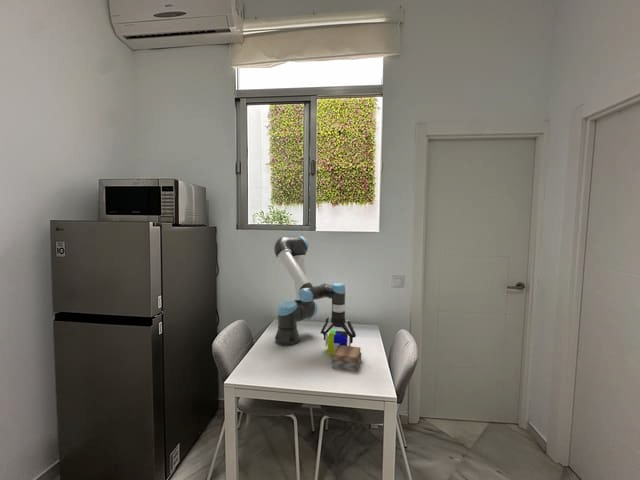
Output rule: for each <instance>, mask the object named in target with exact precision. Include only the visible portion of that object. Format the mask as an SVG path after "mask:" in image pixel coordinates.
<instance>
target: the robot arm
mask: <svg viewBox="0 0 640 480" xmlns="http://www.w3.org/2000/svg"><path fill="white" fill-rule="evenodd" d="M273 251H274V255H275V256H276V258H277V260H279V261H280V262H281V263H282V265H283V267H284V268H285V269H286V271H287V273H288V274H289V276H290V277H291V279H292V280H293V282H294V283H293V284H294V291H295V295H296V297H295V298H294V300H290V301H288V300H287V301H284V302H281V303H280V304H279V305H278V307H277V331H276V334H275V337H274V342H275V343H276V344H277V345H280V346H293V345H297V344H299V343H300V341H301V337H300V332H299V329H298V323H299V322H301V321H304V320H305V321H306V320H310V319H312V318H314V317H315V316H316V315H317V313H318V304H317V302H316V300H321V299H331V318H330V316H329V317H327V318H326V319H325V323H324V325H323V327H322V329H321V331H320V334H322V335H323V341H324V343H325V344H324V345H325V347H327V348H328V335H329V334H328V332H330V331H331V329H332V328H333V327H335V328H342V329H343V331H345V332H346V333H347V334H348V346H352V344H353V341H354V340H353V339H354V338H356V336H357V334H356V332H355V329H354V326H353V325H352V322H351V319H346V292H347V291H346V285H345V284H344V283H342V282H336V283H335V282H334V283H332V284H328V283H325V282H321V283H319V284H317V285H315V286H313V284H312V283H311V281H310V280H309V279H308V277H307V269H306V262H305V258H306V257H307V252H308V251H309V242H308V240H307V238H305V237H304V236H302V235H301V236H299V235H295V236H294V235H293V236H281V237H280V238H278V239H277V240H276V242H275V243H274V247H273ZM330 322H331V325H330V326H329V327H328V328H327V326H328V324H329V323H330ZM345 323H346V324H347V325H346V324H345ZM347 326H348V327H347Z"/></svg>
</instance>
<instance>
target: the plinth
mask: <svg viewBox="0 0 640 480" xmlns="http://www.w3.org/2000/svg"><path fill="white" fill-rule="evenodd" d="M332 355H333V356H332V360H331V368H332V369H337V370H345V371H351V372H356V373H357V372H358V371H359V369H360V365H361V362H362V352H361V347H359V346H352V345H351V346H349V345H348V346H344V345H338V347H337V349H336V350H335V352H334V354H332Z"/></svg>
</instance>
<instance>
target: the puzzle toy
mask: <svg viewBox="0 0 640 480" xmlns="http://www.w3.org/2000/svg"><path fill="white" fill-rule="evenodd" d="M338 345H344V346H349V335H348V334H347V333H346V332H345V330H334V329H333V330H331V329H330V330H329V334H328V345H327V355H333V354H334V352H335V350H336V349H337V347H338Z"/></svg>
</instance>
